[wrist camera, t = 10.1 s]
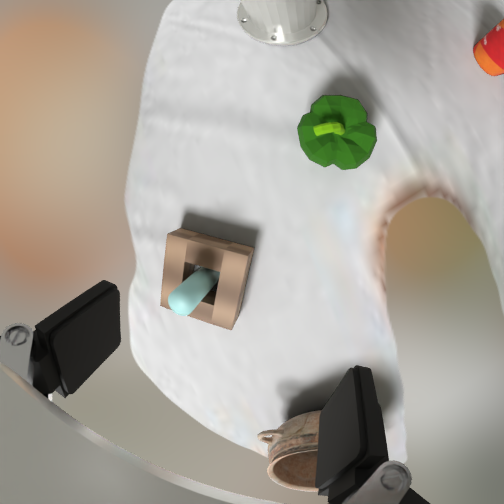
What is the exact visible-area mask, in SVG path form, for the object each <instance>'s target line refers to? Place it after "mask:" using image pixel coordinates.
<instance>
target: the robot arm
mask: <svg viewBox="0 0 504 504" xmlns="http://www.w3.org/2000/svg"><path fill="white" fill-rule="evenodd" d="M237 19H238V21H239V24H240V26H241V28H242V29H243V30H244V31H245V33H246V34H247V35H249V36H250V37H251V38H253V39H255V40H257V41H259V42H262V43H266V44H270V45H278V46H287V45H295V44H299V43H303V42H305V41H308V40H310V39H312V38H313V37H315V36H317V35H318V34H319V33H320V32H321V31H322V29H323V28H324V26H325V24H326V21H327V8H326V5H325V3H324V1H323V0H241V3H240V5H239V7H238V11H237ZM312 30H313V31H312ZM35 328H36V330H35V331H32V329H31V328H30V327H29V326H28V325H26V324H22V323H15V324H12V325H10V326H8V327H7V328H6V329H5V330H4V331H3V333H2V335H1V336H0V504H285V503H278V502H273V501H268V500H262V499H257V498H253V497H248V496H244V495H240V494H237V493H232V492H229V491H226V490H222V489H219V488H215V487H212V486H209V485H206V484H203V483H200V482H197V481H194V480H191V479H189V478H186V477H183V476H181V475H178V474H176V473H173V472H171V471H168V470H166V469H163V468H161V467H159V466H157V465H155V464H152V463H150V462H148V461H146V460H144V459H142V458H140V457H138V456H136V455H134V454H132V453H130V452H128V451H126V450H125V449H123V448H121V447H119V446H117V445H115V444H113V443H112V442H110V441H109V440H107V439H105V438H104V437H102V436H100V435H99V434H97V433H95V432H94V431H92V430H91V429H89V428H87V427H86V426H85V425H83V424H82V423H80V422H79V421H77V420H76V419H74V418H73V417H72V416H70V415H69V414H67V413H66V412H65V411H63V410H62V409H61V408H59V407H58V406H57V405H55V404H54V403H53V402H52V393H53V392H54V391H55V390H56V391H57V392H58V393H59V394H60V395H62V396H63V397H64V398H66V397H67V396H68V395H69V394H73V393H74V392H75V391H76V390H77V389H78V388H79V387H80V386H81V385H82V384H83V383H84V382H85V380H87V379H88V378H89V377H90V375H91V374H92V373H93V372H94V371H95V370H96V369H97V368H98V367H99V366H100V365H101V364H102V363H103V362H104V361H105V360H106V359H107V358H108V357H109V356H110V355H111V354H112V353H113V352H114V351H115V350H116V349H117V348H118V346H119V345H120V342H121V334H120V293H119V290H117V286H116V285H115V284H113V283H110V282H108V281H106V280H103V281H101V282H99V283H98V284H96V285H95V286H93V287H92V288H90V289H88V290H87V291H85V292H84V293H83V294H81V295H79V296H78V297H76V298H75V299H73V300H72V301H70V302H69V303H67V304H66V305H64V306H63V307H61V308H60V309H58V310H57V311H56V312H54V313H53V314H51V315H50V316H48V317H47V318H45V319H44V320H42V321H41V322H40V323H38V324H37V325H35ZM411 480H412V477H411V473H410V471H409V469H408V468H407V467H406V466H405V465H404V464H402V463H401V462H398V461H389V458H388V450H387V443H386V436H385V430H384V424H383V418H382V412H381V407H380V405H379V404H378V401H377V396H376V391H375V386H374V381H373V376H372V372H371V369H370V368H367V367H362V366H358V365H357V366H355V367H354V368H350V369H349V370H348V371H347V373H346V375H345V376H344V378H343V379H342V381H341V382H340V384H339V386H338V387H337V389H336V390H335V392H334V393H333V395H332V396H331V398H330V399H329V401H328V402H327V403H326V405H325V406H324V408H323V409H322V411H321V413H320V417H319V436H318V453H317V467H316V479H315V487H316V488H319V490H318V495H324V496H328V502H329V503H328V504H430V503H429V502H427V501H426V500H425V499H423V498H422V497H421V496H420V495H419V494H417V493H416V492H415V491H414V490H412V489H411V488H410V485H411Z"/></svg>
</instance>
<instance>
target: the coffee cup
mask: <svg viewBox="0 0 504 504" xmlns="http://www.w3.org/2000/svg"><path fill="white" fill-rule="evenodd" d="M473 53H474V56H475V59H476V61H477V63H478V64H479V66H480V67H481V68H482V69H483V70H484V71H485V72H486V73H487V74H489V75H491V76H498V75H501V74H504V19H503V20H502V21H501V22H500V23H499V24H497V25H496V26H495V27H494V28H493V29H492V30H491V31H490V32H489V33H487V34H486V35H485V36H484V37H483V38H482V39H481V40H480V41H479V42H478V43H477V44H476V45H475V46H474V48H473Z"/></svg>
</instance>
